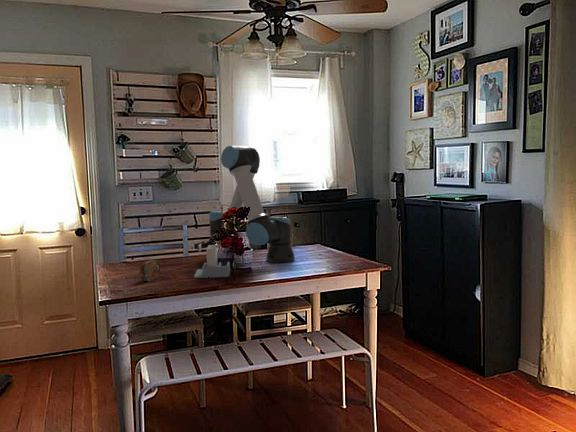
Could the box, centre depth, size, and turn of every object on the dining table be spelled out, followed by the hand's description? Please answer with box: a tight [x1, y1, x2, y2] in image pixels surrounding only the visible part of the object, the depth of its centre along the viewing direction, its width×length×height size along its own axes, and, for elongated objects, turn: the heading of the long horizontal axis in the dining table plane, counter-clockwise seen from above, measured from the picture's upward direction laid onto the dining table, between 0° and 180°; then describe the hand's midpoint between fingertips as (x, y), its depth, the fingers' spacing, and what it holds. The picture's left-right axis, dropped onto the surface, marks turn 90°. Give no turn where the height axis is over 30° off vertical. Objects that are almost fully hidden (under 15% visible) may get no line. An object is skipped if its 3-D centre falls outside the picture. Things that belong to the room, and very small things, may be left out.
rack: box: [193, 261, 231, 279], centre depth 234 cm, size 16×16×5 cm
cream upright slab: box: [205, 245, 219, 267], centre depth 234 cm, size 4×12×12 cm, turn 4°
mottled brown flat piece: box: [139, 259, 161, 282], centre depth 226 cm, size 15×3×8 cm, turn 168°
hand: (213, 248), depth 243 cm, fingers open, 13 cm apart
